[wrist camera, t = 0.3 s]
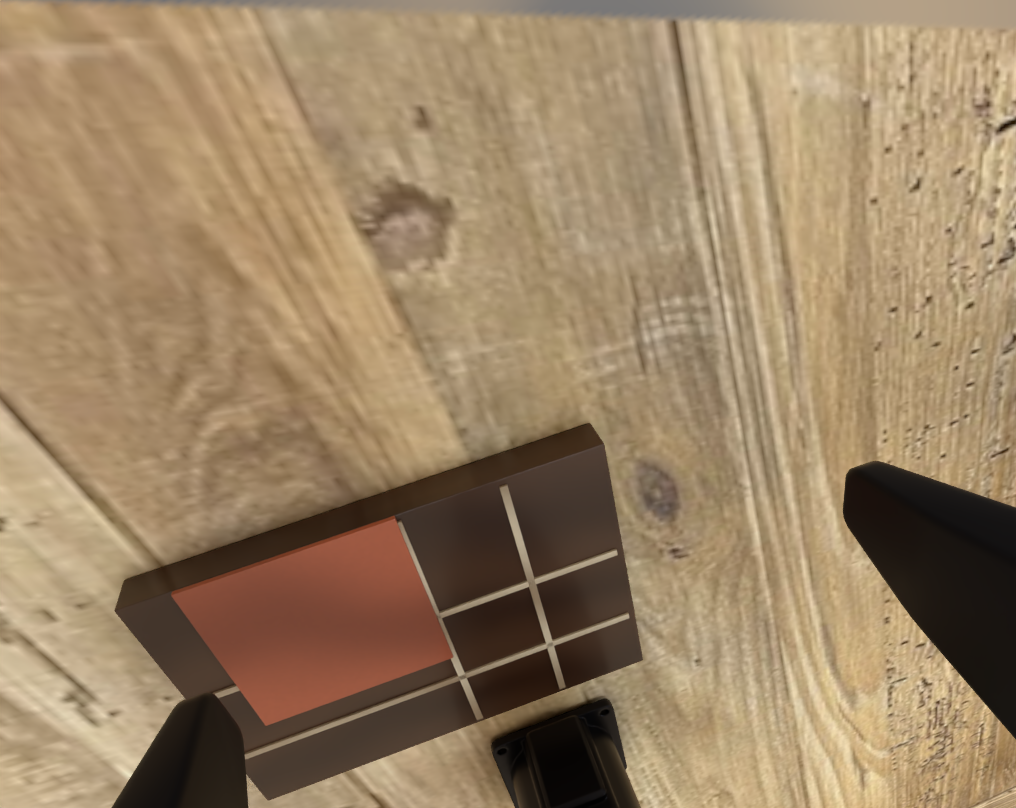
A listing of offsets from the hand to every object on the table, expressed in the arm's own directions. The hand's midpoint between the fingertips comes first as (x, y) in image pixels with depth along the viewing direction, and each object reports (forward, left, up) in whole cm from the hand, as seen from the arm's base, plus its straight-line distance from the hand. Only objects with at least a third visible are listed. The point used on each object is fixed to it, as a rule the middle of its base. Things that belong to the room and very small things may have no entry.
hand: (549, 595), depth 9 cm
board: (-15, +4, -15) cm, 21 cm away
